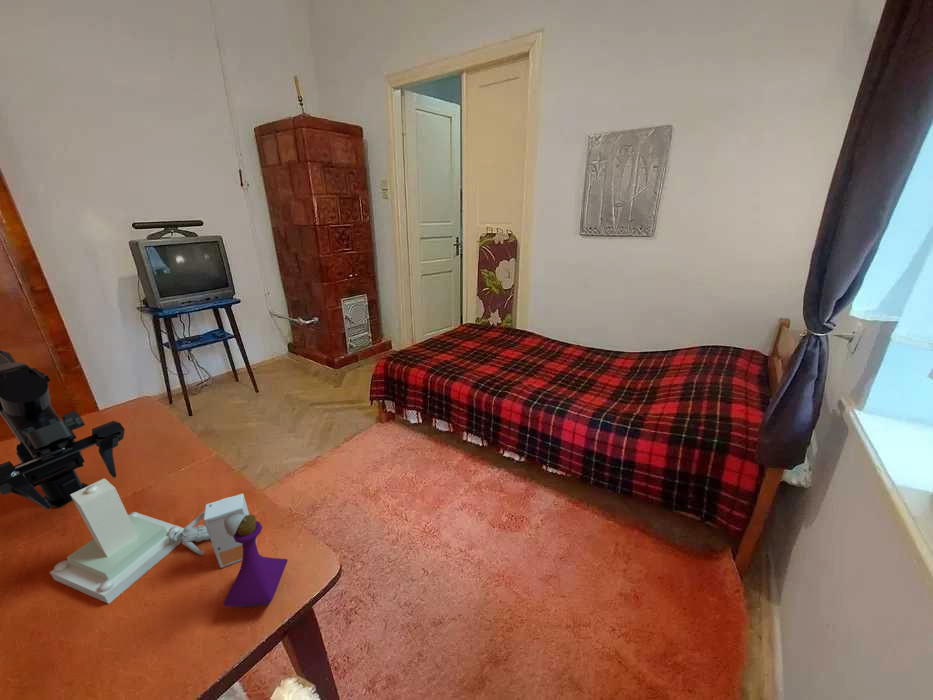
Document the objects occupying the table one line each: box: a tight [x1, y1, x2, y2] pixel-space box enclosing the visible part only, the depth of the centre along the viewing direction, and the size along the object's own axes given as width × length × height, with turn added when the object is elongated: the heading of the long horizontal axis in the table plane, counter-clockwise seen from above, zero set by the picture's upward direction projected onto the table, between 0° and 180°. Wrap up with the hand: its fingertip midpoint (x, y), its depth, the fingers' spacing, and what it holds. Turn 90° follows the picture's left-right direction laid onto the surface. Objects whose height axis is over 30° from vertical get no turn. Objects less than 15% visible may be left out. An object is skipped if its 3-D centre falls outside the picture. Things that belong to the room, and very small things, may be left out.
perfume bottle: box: [222, 513, 288, 608], centre depth 61 cm, size 8×8×18 cm
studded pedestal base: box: [49, 511, 185, 605], centre depth 70 cm, size 14×14×4 cm
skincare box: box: [203, 493, 250, 569], centre depth 69 cm, size 6×4×12 cm
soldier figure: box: [169, 510, 210, 556], centre depth 73 cm, size 8×5×12 cm
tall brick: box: [70, 478, 139, 557], centre depth 67 cm, size 5×5×13 cm
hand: (83, 491), depth 69 cm, fingers open, 9 cm apart
